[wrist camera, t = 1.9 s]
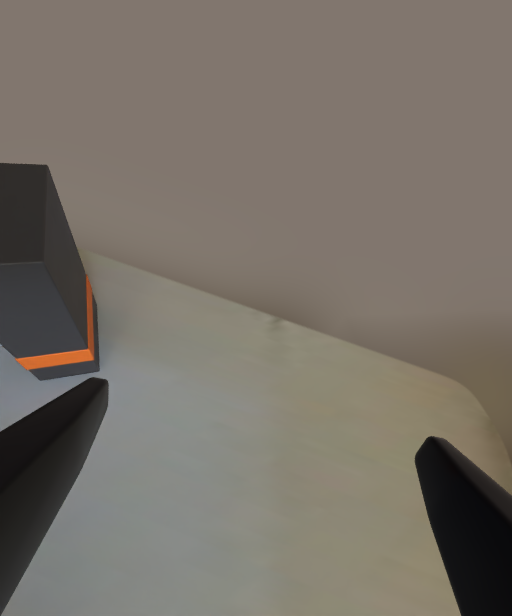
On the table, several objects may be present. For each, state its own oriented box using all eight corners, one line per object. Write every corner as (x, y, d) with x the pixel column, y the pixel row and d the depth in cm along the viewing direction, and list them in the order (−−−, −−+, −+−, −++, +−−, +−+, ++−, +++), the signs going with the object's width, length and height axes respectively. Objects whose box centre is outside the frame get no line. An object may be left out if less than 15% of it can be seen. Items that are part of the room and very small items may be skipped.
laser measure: (97, 304, 25) (48, 163, 14) (100, 372, 22) (45, 262, 12) (40, 309, 23) (-59, 159, 13) (37, 382, 21) (-88, 269, 11)
